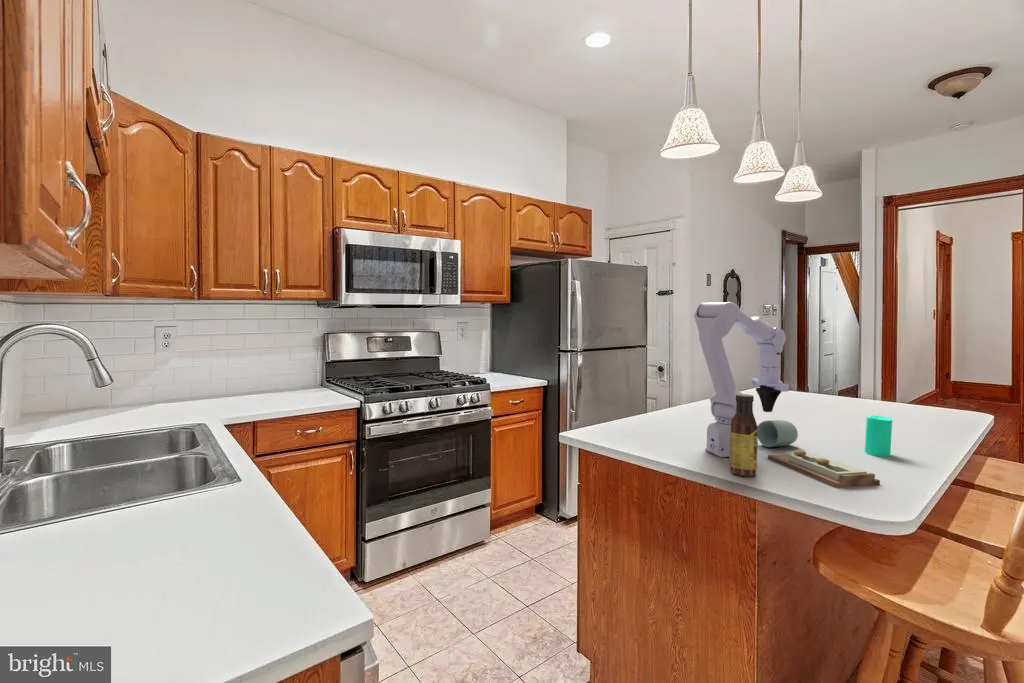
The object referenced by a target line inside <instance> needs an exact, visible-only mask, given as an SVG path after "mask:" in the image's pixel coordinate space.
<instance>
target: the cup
mask: <svg viewBox="0 0 1024 683" xmlns="http://www.w3.org/2000/svg"><path fill="white" fill-rule="evenodd" d="M757 426H758V441H759V443H760V444H761V445H763V447H767V448H776V447H778V448H779V447H785V446H789V445H791V444H794V443H795V442H796V441H797V439H798V437H799V432H798V429H797V427H796V426H795V425H794V423H792V422H790V421H787V420H781V419H779V420H778V419H774V420H773V419H772V420H769V419H768V420H764V421H762V422H759V424H757Z"/></svg>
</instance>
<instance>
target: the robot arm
mask: <svg viewBox="0 0 1024 683" xmlns="http://www.w3.org/2000/svg"><path fill="white" fill-rule="evenodd" d="M693 317H694V321H695V324H696V326H697V331H698V338H699V343H700V345H701V349H702V350H701V351H702V353H703V356H704V359H705V362H706V365H707V368H708V372H709V376H710V378H711V381H712V384H713V389H714V393H712V394H711V396H710V398H709V401H710V412H711V415H712V416H713V417H714V421H715V422H712V423H709V424H708V426H707V429H706V447H705V448H704V450H705V451H707V452H709V453H711V454H714V455H715V456H718V457H720V458H727V457H728V458H730V432H731V421H732V418H733V417H734V416H735V414H736V413H737V412H736V404H737V402H736V395H737V394H743V393H742V392H741V391H740V390H738V389H737V387H736V384H735V380H734V377H733V374H732V371H731V366H730V364H729V359H728V357H727V353H726V350H725V346H724V343H723V338H724V337H726V336H728V334H729V333H730V332H731V330H732V328H733V326H734V325H737V326H739V327H741V328H742V329H743V331H744V334H745V335H747V336H748V337H750V338H752V339H754V340H755V343H756V345H758V346H759V348H758V349H759V352H758V353H759V355H758V378H756V377H750V380H749V382H750V383H749V384H750V385H751V386H752V385H755V386H759V387H756V388H755V391H756V393H757V394H758V397H759V399H760V402H761V408H762V411H763V412H764V413H772V412H773V409H774V406H775V404H776V401H777V399H778V397H779V396H780V394H782V393H783V392H790V391H789V390H790V389H789V388H790V385H789V384H787V383H784V382H783V381H782V380H781V381H780V378H781V377H780V376H781V375H780V374H781V353H783V350H784V345H785V342H786V340H787V336H786V333H785V331H784V329H782V328H781V327H777V326H775V327H774V326H773V325H772V324H771V323H770V322H766V321H764V320H763V317H762V316H758V315H757V316H750V315H748V314H747V313H745V312H744V311H743V310H742V309H740V306H739V305H738V304H736V303H734V302H733V301H727V302H707V301H705V302H704V301H703V302H700V303H699V304H698V306H697V308H696V310H695V312H694V315H693Z"/></svg>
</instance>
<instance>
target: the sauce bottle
mask: <svg viewBox="0 0 1024 683" xmlns="http://www.w3.org/2000/svg"><path fill="white" fill-rule="evenodd" d="M754 399H755V398H754V395H753V394H748V393H747V394H744V393H742V394H737V395H736V402H737V404H736V412H737V413H736V414H735V416H734V417H733V418H732V421H731V432H730V457H729V466H730V473H731V474H733V475H736V476H740V477H754V476H756V474H757V469H758V444H759V443H758V441H759V439H758V424H757V422H756V421H757V420H756V417H755V416H754V410H753V406H754V405H753V404H754V403H753V402H754V401H755V400H754Z"/></svg>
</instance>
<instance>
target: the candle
mask: <svg viewBox="0 0 1024 683" xmlns="http://www.w3.org/2000/svg"><path fill="white" fill-rule="evenodd" d="M865 418H866V420H865V436H864V437H865V439H864V440H865V441H864V453H865V454H867V455H870V456H875V457H881V458H882V457H891V450H892V449H891V448H892V436H893V435H892V432H893V430H892V429H893V418H892V417H888V416H882V415H881V412H879V414H878V415H871V416H866V417H865Z"/></svg>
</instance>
